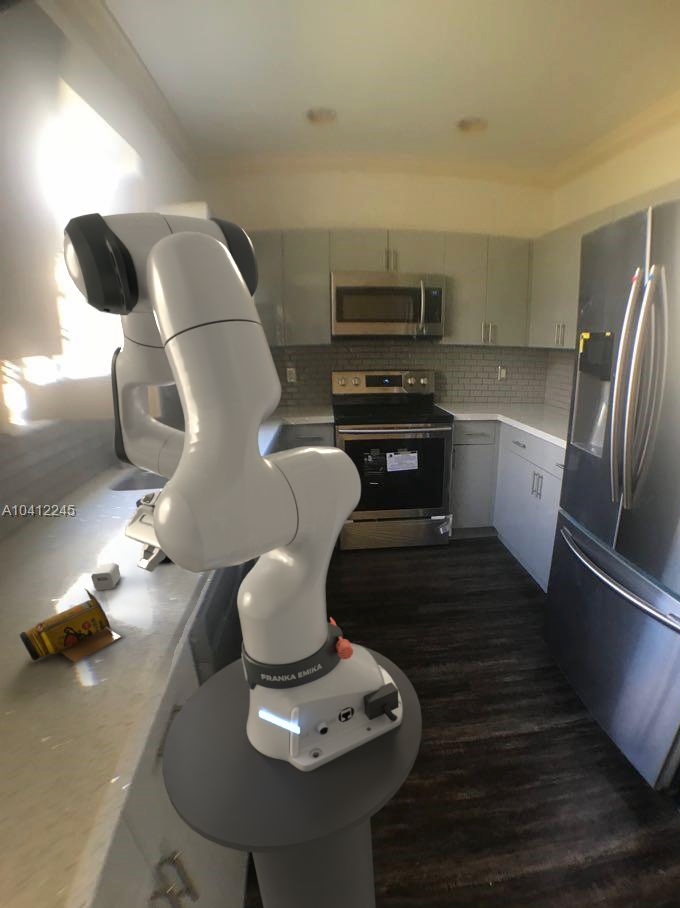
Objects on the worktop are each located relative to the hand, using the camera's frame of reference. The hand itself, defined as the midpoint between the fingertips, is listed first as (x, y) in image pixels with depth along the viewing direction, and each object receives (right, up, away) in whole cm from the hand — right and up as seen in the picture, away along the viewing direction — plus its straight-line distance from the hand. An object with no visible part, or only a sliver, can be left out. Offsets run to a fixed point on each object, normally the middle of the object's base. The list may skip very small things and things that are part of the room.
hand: (144, 569), depth 91 cm
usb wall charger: (-14, -5, +13) cm, 20 cm away
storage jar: (-6, 0, +24) cm, 25 cm away
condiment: (-5, -7, -5) cm, 10 cm away
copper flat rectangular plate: (-7, -12, -7) cm, 16 cm away
